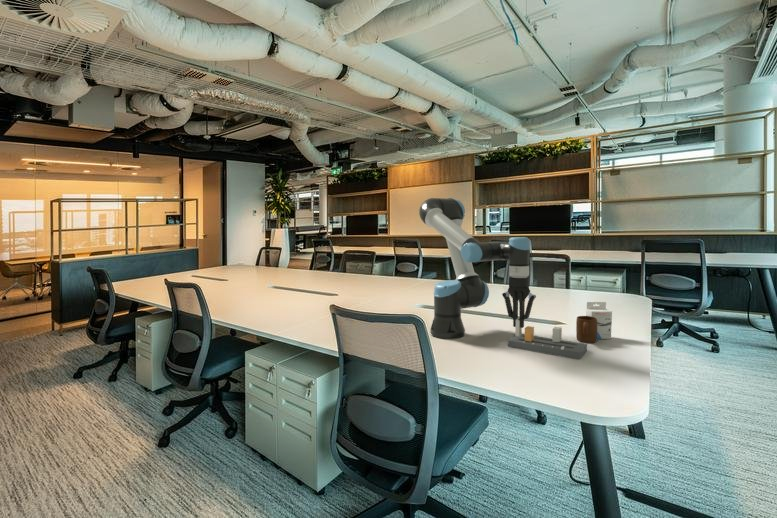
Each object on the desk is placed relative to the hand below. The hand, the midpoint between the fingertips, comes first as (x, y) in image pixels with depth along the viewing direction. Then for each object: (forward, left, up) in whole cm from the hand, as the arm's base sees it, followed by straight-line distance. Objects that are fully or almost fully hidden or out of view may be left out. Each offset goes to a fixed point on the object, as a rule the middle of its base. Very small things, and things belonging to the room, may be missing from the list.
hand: (518, 335), depth 152 cm
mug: (+21, +20, -4) cm, 29 cm away
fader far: (+13, +5, -1) cm, 14 cm away
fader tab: (+4, 0, -1) cm, 4 cm away
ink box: (+24, +29, -4) cm, 37 cm away
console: (+10, +2, -4) cm, 11 cm away
